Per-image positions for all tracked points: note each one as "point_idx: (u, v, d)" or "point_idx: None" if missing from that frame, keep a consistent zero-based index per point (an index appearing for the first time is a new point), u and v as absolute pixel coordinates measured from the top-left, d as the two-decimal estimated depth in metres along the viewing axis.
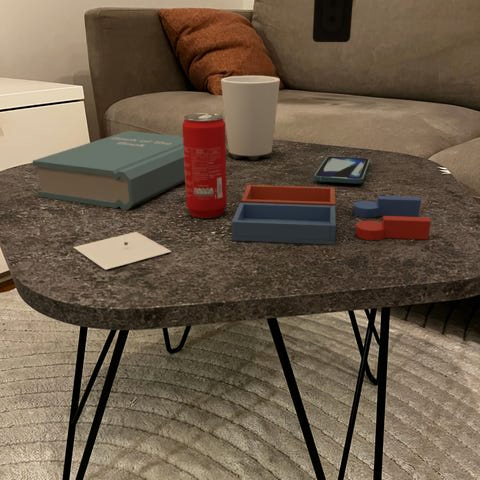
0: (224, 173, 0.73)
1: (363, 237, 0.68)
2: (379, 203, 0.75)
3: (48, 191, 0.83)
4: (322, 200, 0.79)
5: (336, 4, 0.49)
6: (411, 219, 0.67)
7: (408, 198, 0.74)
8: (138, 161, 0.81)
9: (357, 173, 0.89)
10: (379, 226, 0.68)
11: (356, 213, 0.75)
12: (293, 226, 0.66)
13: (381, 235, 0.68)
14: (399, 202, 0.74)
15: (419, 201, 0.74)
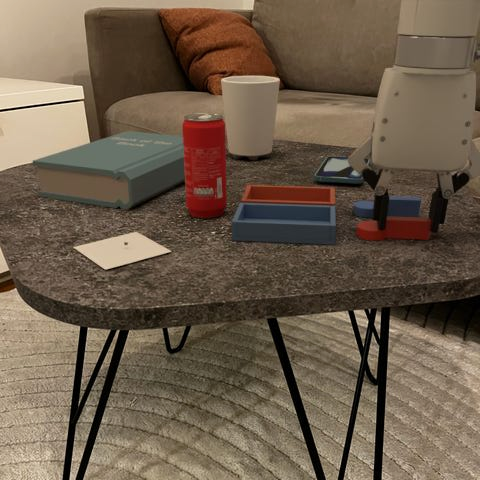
0: (224, 173, 0.73)
1: (364, 237, 0.68)
2: None
3: (48, 191, 0.83)
4: (322, 200, 0.79)
5: None
6: (412, 219, 0.67)
7: (408, 198, 0.74)
8: (138, 161, 0.81)
9: (357, 173, 0.89)
10: None
11: (356, 213, 0.75)
12: (293, 226, 0.66)
13: (382, 235, 0.68)
14: (399, 202, 0.74)
15: (419, 201, 0.74)
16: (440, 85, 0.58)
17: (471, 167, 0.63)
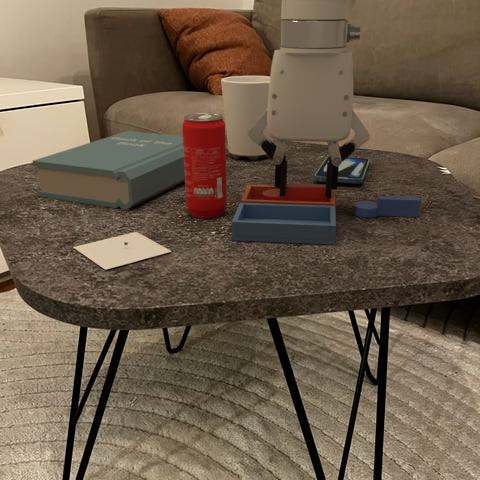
0: (224, 173, 0.73)
1: None
2: (379, 203, 0.75)
3: (48, 191, 0.83)
4: None
5: None
6: (309, 186, 0.75)
7: (408, 198, 0.74)
8: (138, 161, 0.81)
9: (357, 173, 0.89)
10: None
11: (356, 213, 0.75)
12: (293, 226, 0.66)
13: None
14: (399, 202, 0.74)
15: (419, 201, 0.74)
16: (318, 63, 0.66)
17: (356, 137, 0.71)
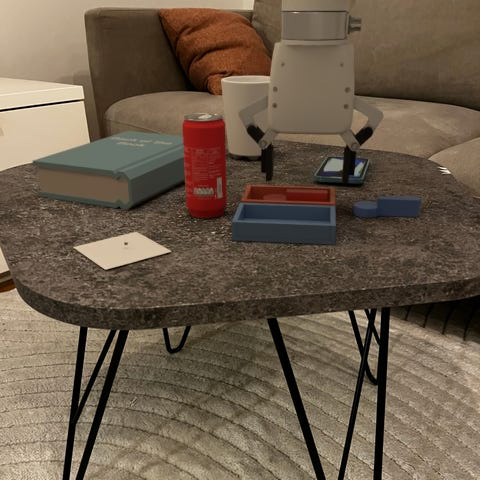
0: (224, 173, 0.73)
1: None
2: (379, 203, 0.75)
3: (48, 191, 0.83)
4: None
5: None
6: (310, 191, 0.75)
7: (408, 198, 0.74)
8: (138, 161, 0.81)
9: (357, 173, 0.89)
10: (283, 198, 0.76)
11: (356, 213, 0.75)
12: (293, 226, 0.66)
13: None
14: (399, 202, 0.74)
15: (419, 201, 0.74)
16: (319, 55, 0.66)
17: (369, 120, 0.70)
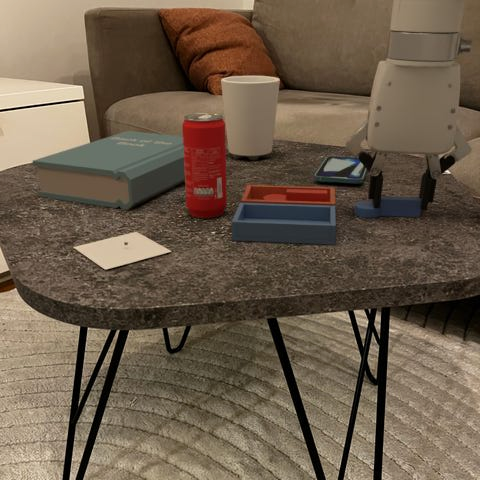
0: (224, 173, 0.73)
1: None
2: (380, 203, 0.75)
3: (48, 191, 0.83)
4: None
5: None
6: (310, 191, 0.75)
7: (409, 198, 0.74)
8: (138, 161, 0.81)
9: (357, 173, 0.89)
10: (283, 198, 0.76)
11: (357, 213, 0.75)
12: (293, 226, 0.66)
13: None
14: (400, 202, 0.74)
15: (420, 201, 0.74)
16: (428, 76, 0.66)
17: (457, 150, 0.70)
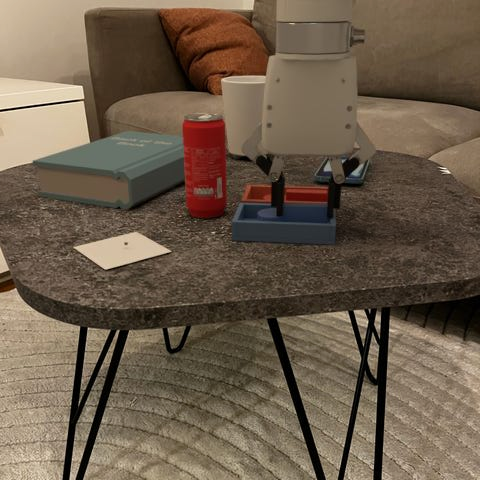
0: (224, 173, 0.73)
1: None
2: (283, 211, 0.68)
3: (48, 191, 0.83)
4: None
5: None
6: (310, 191, 0.75)
7: (315, 205, 0.68)
8: (138, 161, 0.81)
9: (357, 173, 0.89)
10: None
11: None
12: (293, 226, 0.66)
13: None
14: (305, 209, 0.68)
15: (326, 208, 0.68)
16: (318, 70, 0.59)
17: (360, 151, 0.64)
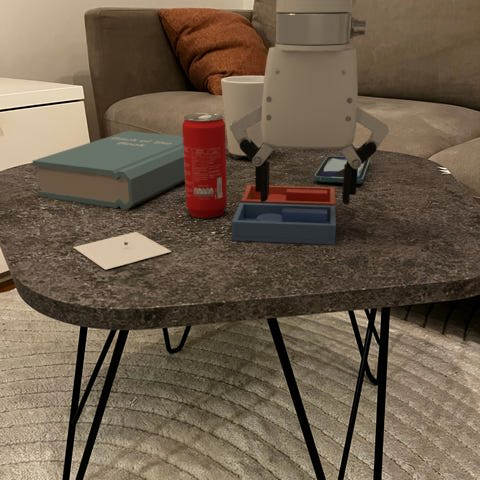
0: (224, 173, 0.73)
1: None
2: (283, 216, 0.69)
3: (48, 191, 0.83)
4: None
5: None
6: (310, 191, 0.75)
7: (314, 211, 0.68)
8: (138, 161, 0.81)
9: None
10: (283, 198, 0.76)
11: None
12: (293, 226, 0.66)
13: None
14: (304, 215, 0.68)
15: (325, 214, 0.68)
16: (318, 62, 0.59)
17: (373, 134, 0.63)
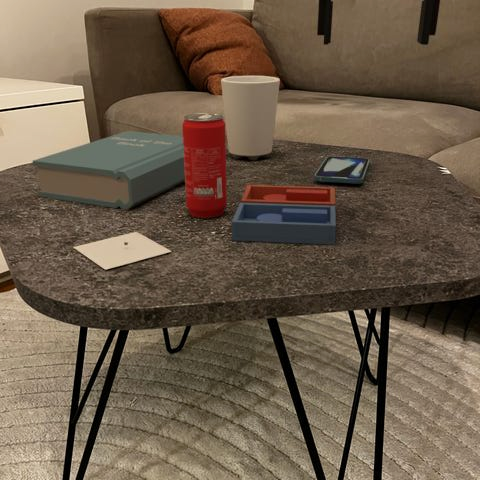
0: (224, 173, 0.73)
1: None
2: (283, 216, 0.69)
3: (48, 191, 0.83)
4: None
5: None
6: (310, 191, 0.75)
7: (314, 211, 0.68)
8: (138, 161, 0.81)
9: (357, 173, 0.89)
10: (283, 198, 0.76)
11: None
12: (293, 226, 0.66)
13: None
14: (304, 215, 0.68)
15: (325, 214, 0.68)
16: None
17: None
